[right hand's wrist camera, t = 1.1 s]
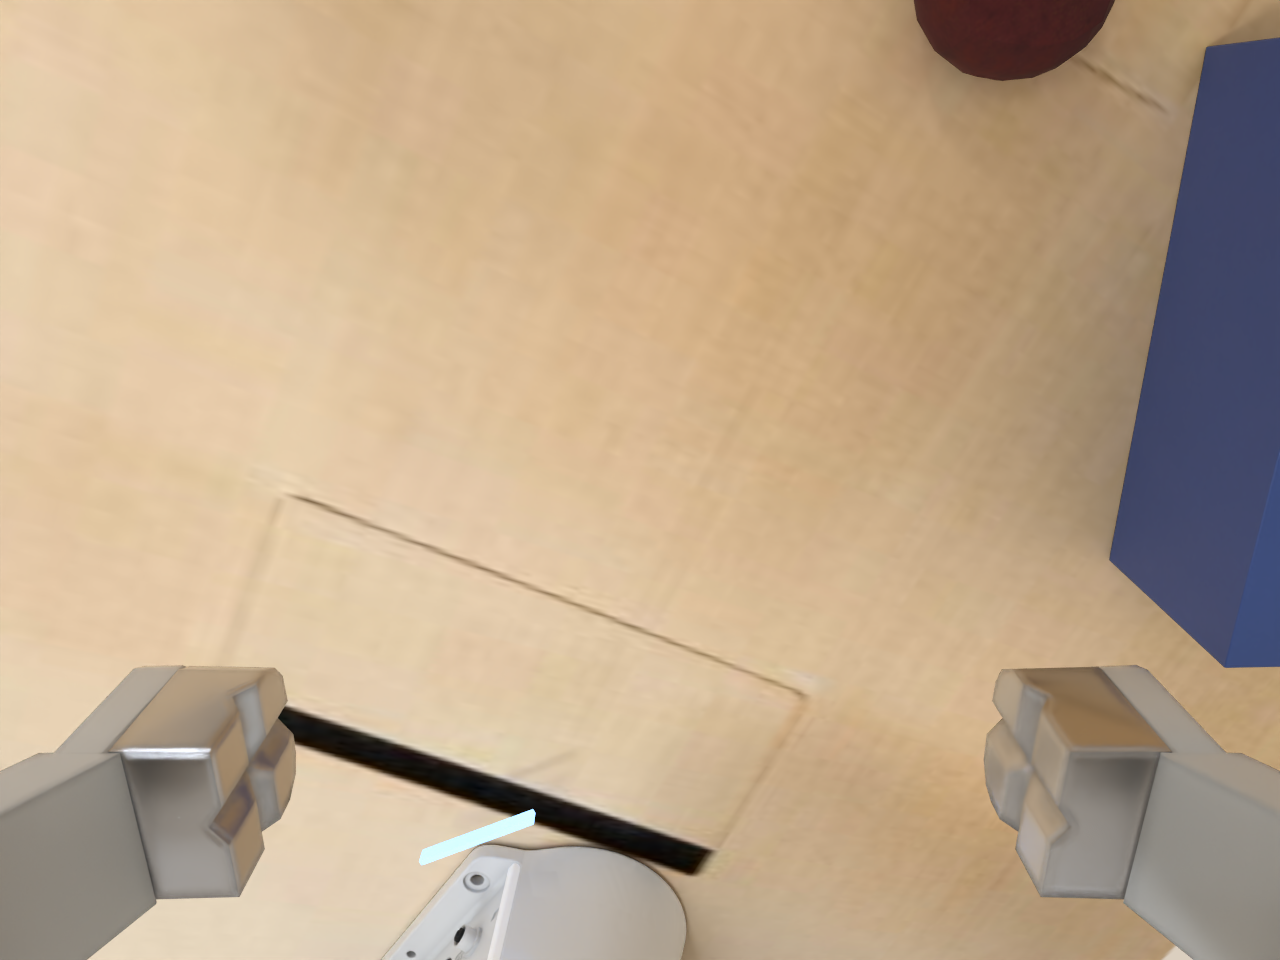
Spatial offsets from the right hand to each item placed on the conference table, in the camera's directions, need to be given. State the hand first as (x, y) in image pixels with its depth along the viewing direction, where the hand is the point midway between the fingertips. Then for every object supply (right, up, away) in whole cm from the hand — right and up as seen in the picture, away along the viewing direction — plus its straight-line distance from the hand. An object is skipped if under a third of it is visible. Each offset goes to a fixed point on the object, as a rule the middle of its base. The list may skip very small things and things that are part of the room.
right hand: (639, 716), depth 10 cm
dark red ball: (+15, +24, +30) cm, 42 cm away
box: (+29, +10, +36) cm, 47 cm away
